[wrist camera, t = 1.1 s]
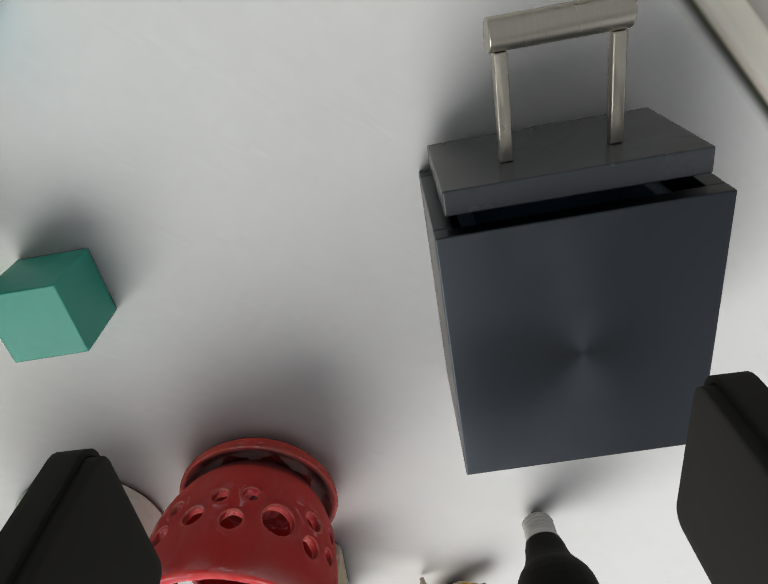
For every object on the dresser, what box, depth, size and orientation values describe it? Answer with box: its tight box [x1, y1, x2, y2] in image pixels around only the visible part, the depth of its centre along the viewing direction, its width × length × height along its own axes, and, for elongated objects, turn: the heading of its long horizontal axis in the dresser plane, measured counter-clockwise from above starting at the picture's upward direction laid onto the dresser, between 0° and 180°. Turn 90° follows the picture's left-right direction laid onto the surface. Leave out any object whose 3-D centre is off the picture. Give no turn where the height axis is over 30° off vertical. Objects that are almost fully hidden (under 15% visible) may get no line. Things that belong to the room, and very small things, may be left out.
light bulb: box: [518, 512, 599, 584], centre depth 44 cm, size 6×6×10 cm
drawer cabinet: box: [419, 170, 737, 475], centre depth 33 cm, size 15×13×9 cm
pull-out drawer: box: [427, 0, 715, 228], centre depth 30 cm, size 20×12×7 cm, turn 9°
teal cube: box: [0, 249, 116, 362], centre depth 34 cm, size 4×4×4 cm
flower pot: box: [149, 438, 338, 584], centre depth 40 cm, size 13×13×12 cm
